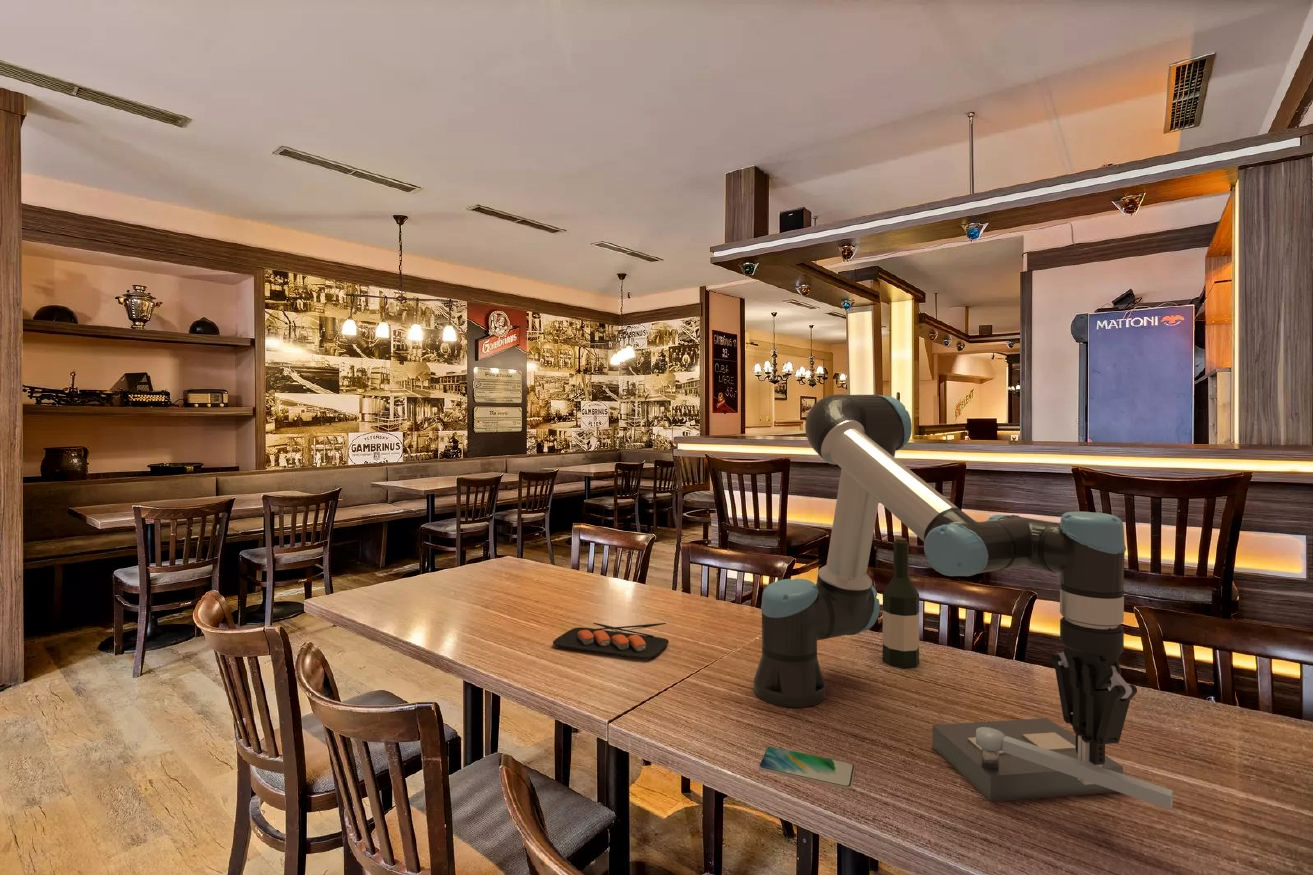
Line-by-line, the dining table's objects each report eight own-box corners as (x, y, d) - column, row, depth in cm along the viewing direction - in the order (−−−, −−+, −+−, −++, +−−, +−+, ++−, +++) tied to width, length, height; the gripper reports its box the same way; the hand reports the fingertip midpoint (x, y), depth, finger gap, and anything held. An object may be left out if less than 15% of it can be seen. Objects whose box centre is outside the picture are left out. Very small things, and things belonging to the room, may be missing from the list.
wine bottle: (922, 670, 144) (923, 542, 143) (885, 667, 145) (885, 541, 145) (915, 657, 152) (915, 536, 151) (879, 654, 154) (880, 535, 153)
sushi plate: (548, 650, 159) (547, 635, 159) (601, 616, 187) (601, 604, 187) (651, 666, 149) (651, 650, 148) (691, 628, 176) (691, 614, 176)
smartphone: (851, 788, 97) (757, 767, 103) (851, 793, 97) (757, 772, 103) (855, 763, 103) (767, 745, 109) (855, 768, 104) (767, 749, 109)
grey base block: (990, 801, 94) (990, 757, 93) (932, 747, 109) (932, 709, 109) (1122, 791, 96) (1123, 748, 96) (1047, 739, 112) (1047, 702, 112)
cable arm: (972, 744, 97) (972, 733, 97) (981, 735, 99) (981, 724, 99) (1169, 813, 79) (1169, 799, 79) (1173, 800, 82) (1174, 787, 82)
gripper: (1155, 634, 83) (1153, 806, 83) (1079, 606, 95) (1078, 755, 96) (1104, 637, 82) (1103, 811, 82) (1034, 608, 95) (1033, 759, 95)
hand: (1089, 781), depth 89 cm, fingers closed
